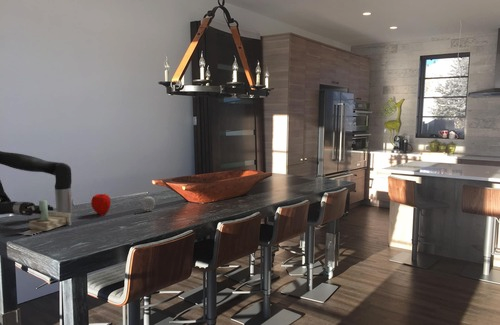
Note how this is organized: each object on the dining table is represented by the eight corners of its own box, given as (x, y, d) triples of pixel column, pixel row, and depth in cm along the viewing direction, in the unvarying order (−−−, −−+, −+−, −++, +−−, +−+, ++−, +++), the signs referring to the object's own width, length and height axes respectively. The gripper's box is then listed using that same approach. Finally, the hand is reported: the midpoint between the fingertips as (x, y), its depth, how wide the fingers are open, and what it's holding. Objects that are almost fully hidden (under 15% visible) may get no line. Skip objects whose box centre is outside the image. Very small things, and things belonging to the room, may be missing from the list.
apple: (87, 215, 256) (86, 194, 254) (102, 211, 266) (101, 191, 265) (100, 217, 250) (99, 196, 249) (115, 213, 261) (114, 193, 259)
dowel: (44, 224, 228) (43, 200, 226) (50, 225, 226) (48, 200, 225) (38, 226, 224) (37, 201, 222) (44, 227, 222) (42, 201, 221)
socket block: (49, 222, 236) (49, 215, 235) (66, 224, 232) (65, 217, 232) (29, 228, 223) (29, 221, 222) (46, 230, 219) (46, 223, 218)
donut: (142, 213, 261) (141, 197, 260) (139, 212, 264) (139, 197, 263) (156, 210, 268) (155, 195, 267) (153, 209, 270) (153, 195, 269)
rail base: (49, 222, 238) (48, 211, 238) (71, 224, 233) (70, 212, 233) (13, 234, 215) (12, 221, 214) (36, 236, 210) (35, 223, 209)
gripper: (12, 204, 222) (36, 206, 217) (34, 199, 235) (56, 201, 230) (13, 217, 222) (36, 220, 217) (34, 212, 236) (57, 214, 231)
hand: (46, 210), depth 224 cm, fingers open, 8 cm apart
